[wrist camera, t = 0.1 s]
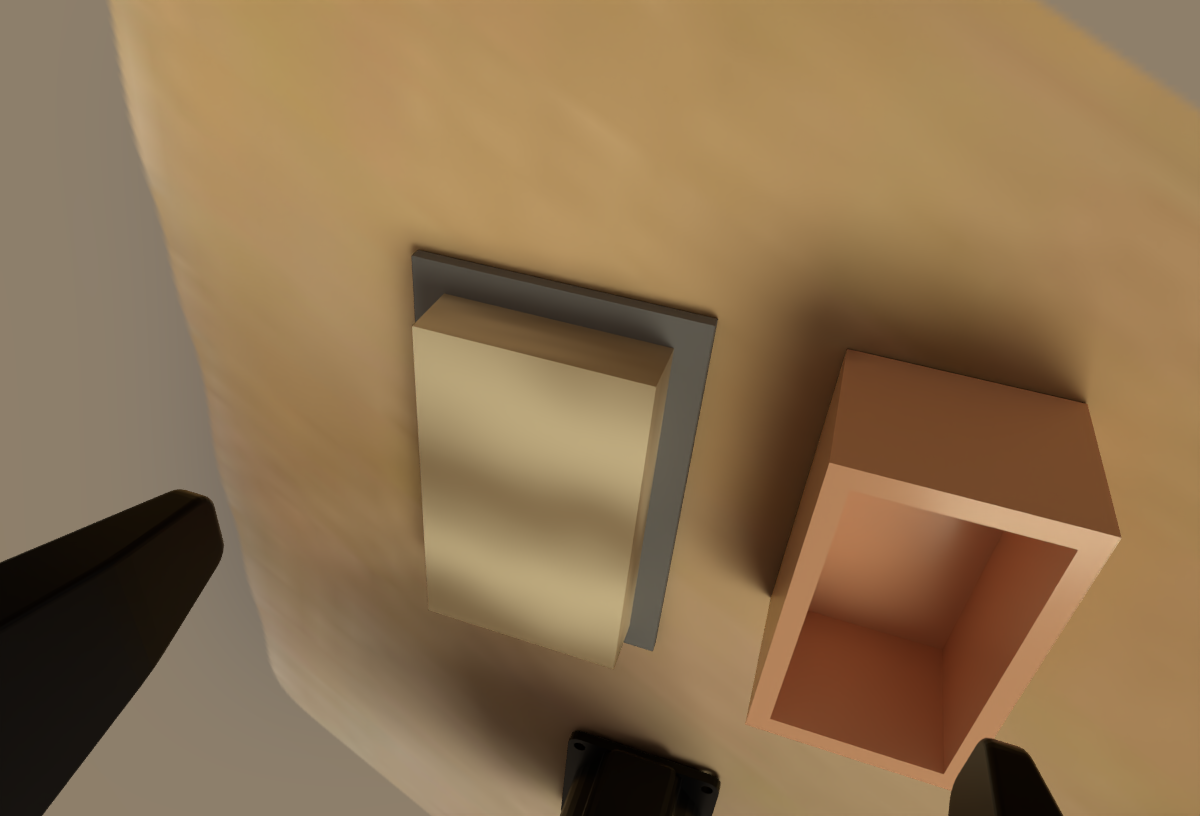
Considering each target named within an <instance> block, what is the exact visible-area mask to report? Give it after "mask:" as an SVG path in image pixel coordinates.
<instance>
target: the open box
mask: <svg viewBox="0 0 1200 816" xmlns="http://www.w3.org/2000/svg"><path fill="white" fill-rule="evenodd" d="M1120 539H1121V534H1120V530H1119V526H1118V522H1117V518H1116V514H1115V511H1114V507H1113V503H1112V499H1111V495H1110V491H1109V487H1108V483H1107V479H1106V475H1105V471H1104V468H1103V464H1102V460H1101V456H1100V452H1099V448H1098V444H1097V440H1096V436H1095V432H1094V428H1093V424H1092V421H1091V417H1090V413H1089V409H1088V405H1087V404H1085V403H1080V402H1076V401H1072V400H1067V399H1063V398H1059V397H1054V396H1050V395H1046V394H1041V393H1037V392H1033V391H1028V390H1024V389H1020V388H1015V387H1011V386H1007V385H1002V384H998V383H994V382H989V381H985V380H981V379H976V378H972V377H968V376H963V375H959V374H955V373H950V372H946V371H942V370H937V369H933V368H928V367H924V366H920V365H915V364H911V363H907V362H902V361H898V360H894V359H889V358H885V357H881V356H876V355H872V354H868V353H863V352H859V351H855V350H850V349H847V350H846V354H845V357H844V360H843V364H842V367H841V370H840V373H839V377H838V380H837V383H836V386H835V390H834V393H833V396H832V400H831V403H830V406H829V409H828V413H827V416H826V419H825V422H824V426H823V429H822V432H821V436H820V439H819V442H818V445H817V449H816V452H815V455H814V458H813V462H812V465H811V468H810V471H809V475H808V478H807V481H806V485H805V488H804V491H803V494H802V498H801V501H800V504H799V507H798V511H797V514H796V517H795V521H794V524H793V527H792V530H791V534H790V537H789V540H788V543H787V547H786V550H785V553H784V557H783V560H782V563H781V566H780V570H779V573H778V576H777V579H776V583H775V586H774V589H773V593H772V596H771V599H770V604H769V609H768V614H767V619H766V624H765V629H764V634H763V639H762V644H761V649H760V654H759V659H758V664H757V669H756V674H755V679H754V684H753V688H752V693H751V698H750V703H749V708H748V713H747V718H746V723H745V724H746V725H749V726H752V727H755V728H758V729H761V730H764V731H768V732H771V733H774V734H777V735H780V736H783V737H786V738H789V739H792V740H795V741H799V742H802V743H805V744H808V745H811V746H814V747H817V748H820V749H823V750H826V751H830V752H833V753H836V754H839V755H842V756H845V757H848V758H851V759H854V760H858V761H861V762H864V763H867V764H870V765H873V766H876V767H879V768H882V769H885V770H889V771H892V772H895V773H898V774H901V775H904V776H907V777H910V778H913V779H916V780H920V781H923V782H926V783H929V784H932V785H935V786H938V787H941V788H944V789H948V790H951V791H952V787H953V784H954V781H955V779H956V777H957V776H958V774H959V772H960V771H961V769H962V768H963V766H964V764H965V763H966V761H967V759H968V758H969V756H970V755H971V753H972V751H973V750H974V748H975V746H976V745H977V743H978V742H979V741H980V740H982V739H983V738H992V739H994V737H995V736H996V734H997V733H998V731H999V729H1000V728H1001V726H1002V725H1003V723H1004V722H1005V720H1006V718H1007V717H1008V715H1009V714H1010V712H1011V711H1012V709H1013V707H1014V706H1015V704H1016V703H1017V701H1018V700H1019V698H1020V696H1021V695H1022V693H1023V692H1024V690H1025V689H1026V687H1027V685H1028V684H1029V682H1030V681H1031V679H1032V678H1033V676H1034V674H1035V673H1036V671H1037V670H1038V668H1039V667H1040V665H1041V663H1042V662H1043V660H1044V659H1045V657H1046V656H1047V654H1048V652H1049V651H1050V649H1051V648H1052V646H1053V645H1054V643H1055V641H1056V640H1057V638H1058V637H1059V635H1060V634H1061V632H1062V630H1063V629H1064V627H1065V626H1066V624H1067V623H1068V621H1069V619H1070V618H1071V616H1072V615H1073V613H1074V612H1075V610H1076V608H1077V607H1078V605H1079V604H1080V602H1081V601H1082V599H1083V597H1084V596H1085V594H1086V593H1087V591H1088V589H1089V588H1090V586H1091V585H1092V583H1093V582H1094V580H1095V578H1096V577H1097V575H1098V574H1099V572H1100V571H1101V569H1102V567H1103V566H1104V564H1105V563H1106V561H1107V560H1108V558H1109V556H1110V555H1111V553H1112V552H1113V550H1114V549H1115V547H1116V545H1117V544H1118V542H1119V541H1120Z"/></svg>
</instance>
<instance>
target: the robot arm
mask: <svg viewBox="0 0 1200 816" xmlns="http://www.w3.org/2000/svg"><path fill="white" fill-rule="evenodd" d="M223 548H224V543H223V538H222V534H221V530H220V527H219V523H218V519H217V515H216V511H215V507H214V504H213V502H212V501H211V500H210V499H209V498H208V497H206V496H203V495H200V494H197V493H194V492H190V491H187V490H181V489H179V490H173V491H170V492H168V493H165V494H163V495H160V496H158V497H155V498H153V499H151V500H148V501H146V502H143V503H141V504H139V505H136V506H134V507H132V508H129V509H127V510H124V511H122V512H120V513H117V514H115V515H112V516H110V517H108V518H105V519H103V520H101V521H98V522H96V523H93V524H91V525H89V526H86V527H84V528H81V529H79V530H77V531H74V532H72V533H69V534H67V535H65V536H62V537H60V538H58V539H55V540H53V541H51V542H48V543H46V544H43V545H41V546H38V547H36V548H34V549H31V550H29V551H26V552H24V553H22V554H19V555H17V556H15V557H12V558H10V559H7V560H5V561H3V562H1V563H0V816H42V815H43V814H44V813H45V811H46V810H47V809H48V807H49V806H50V805H51V803H52V802H53V801H54V799H55V798H56V797H57V796H58V794H59V793H60V792H61V790H62V789H63V788H64V786H65V785H66V784H67V782H68V781H69V780H70V778H71V777H72V776H73V774H74V773H75V772H76V771H77V769H78V768H79V767H80V765H81V764H82V763H83V761H84V760H85V759H86V757H87V756H88V755H89V754H90V752H91V751H92V750H93V748H94V747H95V746H96V744H97V742H99V740H100V739H101V738H102V736H103V735H104V734H105V732H106V731H107V730H108V729H109V727H110V726H111V725H112V723H113V722H114V721H115V719H116V718H117V717H118V715H119V714H120V713H121V712H122V710H123V709H124V708H125V706H126V705H127V704H128V702H129V701H130V700H131V698H132V697H133V696H134V695H135V693H136V692H137V691H138V689H139V688H140V687H141V685H142V684H143V682H144V681H145V680H146V678H147V677H148V676H149V674H150V673H151V671H152V670H153V668H154V667H155V666H156V664H157V663H158V661H159V660H160V658H161V657H162V655H163V653H164V652H165V650H166V648H167V647H168V646H169V644H170V642H171V641H172V639H173V637H174V636H175V634H176V633H177V631H178V629H179V628H180V626H181V624H182V623H183V621H184V620H185V618H186V616H187V615H188V613H189V611H190V610H191V608H192V607H193V605H194V603H195V602H196V600H197V598H198V597H199V595H200V594H201V592H202V590H203V589H204V587H205V585H206V584H207V582H208V581H209V579H210V577H211V576H212V574H213V573H214V571H215V569H216V567H217V566H218V564H219V562H220V560H221V557H222V554H223ZM719 790H720V781H719V779H717V778H716V777H715V776H712V775H710V774H707V773H704V772H701V771H698V770H695V769H692V768H689V767H686V766H683V765H680V764H677V763H674V762H671V761H668V760H666V759H663V758H660V757H657V756H654V755H651V754H648V753H645V752H642V751H639V750H636V749H633V748H630V747H627V746H624V745H621V744H618V743H615V742H612V741H609V740H606V739H603V738H600V737H597V736H594V735H591V734H588V733H585V732H582V731H575V732H573V733H572V735H571V737H570V740H569V742H568V750H567V760H566V769H565V778H564V787H563V797H562V806H561V814H560V816H712V813H713V810H714V807H715V804H716V801H717V798H718V794H719ZM948 816H1063V814H1062V813H1061V811H1060V809H1059V807H1058V805H1057V804H1056V802H1055V800H1054V798H1053V796H1052V794H1051V793H1050V791H1049V789H1048V787H1047V785H1046V783H1045V782H1044V780H1043V778H1042V776H1041V774H1040V772H1039V771H1038V769H1037V767H1036V765H1035V763H1034V762H1033V760H1032V758H1031V756H1030V755H1029V754H1028V753H1027V752H1026V751H1025V750H1024V749H1022V748H1020V747H1018V746H1015V745H1011V744H1008V743H1005V742H1002V741H998V740H995V739H992V738H983V739H982V740H980V741H979V742H978V743H977V745H976V746H975V748H974V750H973V751H972V753H971V755H970V756H969V758H968V759H967V761H966V763H965V764H964V766H963V768H962V769H961V771H960V772H959V774H958V776H957V777H956V779H955V781H954V784H953V787H952V791H951V796H950V803H949V814H948Z"/></svg>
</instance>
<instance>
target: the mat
mask: <svg viewBox="0 0 1200 816" xmlns="http://www.w3.org/2000/svg"><path fill="white" fill-rule="evenodd" d="M412 272H413V291H414V309H415V323H416V321H417V320H418V319H419V318H420V317H421V316H422V315H423V314H424V313H425V312H426V311H427V310H428V309H429V308H430V307H431V306H432V305H433V304H434V303H435V302H436V301H437V300H438V299H439V298H440V297H441V296H442V295H443V294H448V295H453V296H457V297H461V298H465V299H469V300H473V301H478V302H482V303H486V304H490V305H494V306H499V307H503V308H507V309H511V310H515V311H519V312H524V313H528V314H532V315H536V316H540V317H544V318H549V319H553V320H557V321H561V322H565V323H569V324H574V325H578V326H582V327H586V328H590V329H595V330H599V331H603V332H607V333H611V334H615V335H620V336H624V337H628V338H632V339H636V340H640V341H645V342H649V343H653V344H657V345H661V346H665V347H670V348H674V352H673V358H672V365H671V371H670V377H669V383H668V390H667V396H666V402H665V408H664V414H663V421H662V427H661V433H660V439H659V445H658V452H657V458H656V464H655V470H654V477H653V483H652V489H651V495H650V501H649V508H648V514H647V520H646V526H645V532H644V539H643V545H642V551H641V557H640V564H639V570H638V576H637V582H636V588H635V595H634V601H633V607H632V613H631V619H630V626H629V629H628V631H627V634H626V637H625V639H624V643H627V644H631V645H634V646H637V647H640V648H643V649H647V650H650V651H653V649H654V646H655V643H656V638H657V632H658V627H659V622H660V617H661V612H662V606H663V601H664V596H665V591H666V586H667V581H668V575H669V570H670V565H671V560H672V555H673V549H674V544H675V539H676V534H677V529H678V523H679V518H680V513H681V508H682V503H683V498H684V492H685V487H686V482H687V477H688V472H689V466H690V461H691V456H692V451H693V446H694V440H695V435H696V430H697V425H698V420H699V415H700V409H701V404H702V399H703V394H704V389H705V383H706V378H707V373H708V368H709V363H710V358H711V352H712V347H713V342H714V337H715V332H716V326H717V321H718V319H716V318H711V317H707V316H703V315H698V314H694V313H690V312H685V311H681V310H677V309H672V308H668V307H664V306H659V305H655V304H651V303H646V302H642V301H638V300H633V299H629V298H625V297H620V296H616V295H611V294H607V293H603V292H598V291H594V290H590V289H585V288H581V287H577V286H572V285H568V284H564V283H559V282H555V281H551V280H546V279H542V278H538V277H533V276H529V275H525V274H520V273H516V272H512V271H507V270H503V269H499V268H494V267H490V266H486V265H481V264H477V263H473V262H468V261H464V260H459V259H455V258H451V257H446V256H442V255H438V254H433V253H429V252H425V251H420V250H417V251H416V252H415V253H414V254H413V255H412Z"/></svg>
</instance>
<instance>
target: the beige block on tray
mask: <svg viewBox="0 0 1200 816" xmlns="http://www.w3.org/2000/svg"><path fill="white" fill-rule="evenodd" d="M412 334H413V352H414V369H415V387H416V404H417V422H418V439H419V457H420V474H421V492H422V509H423V527H424V544H425V561H426V579H427V596H428V610H429V611H432V612H435V613H438V614H441V615H444V616H448V617H451V618H454V619H457V620H460V621H463V622H466V623H469V624H473V625H476V626H479V627H482V628H485V629H488V630H491V631H495V632H498V633H501V634H504V635H507V636H510V637H513V638H516V639H520V640H523V641H526V642H529V643H532V644H535V645H538V646H542V647H545V648H548V649H551V650H554V651H557V652H560V653H563V654H567V655H570V656H573V657H576V658H579V659H582V660H585V661H589V662H592V663H595V664H598V665H601V666H604V667H607V668H610V669H614V667H615V664H616V661H617V659H618V656H619V653H620V650H621V648H622V645H623V642H624V639H625V637H626V634H627V631H628V629H629V626H630V619H631V613H632V607H633V601H634V595H635V588H636V582H637V576H638V570H639V564H640V557H641V551H642V545H643V539H644V532H645V526H646V520H647V514H648V508H649V501H650V495H651V489H652V483H653V477H654V470H655V464H656V458H657V452H658V445H659V439H660V433H661V427H662V421H663V414H664V408H665V402H666V396H667V390H668V383H669V377H670V371H671V365H672V358H673V352H674V348H670V347H665V346H661V345H657V344H653V343H649V342H645V341H640V340H636V339H632V338H628V337H624V336H620V335H615V334H611V333H607V332H603V331H599V330H595V329H590V328H586V327H582V326H578V325H574V324H569V323H565V322H561V321H557V320H553V319H549V318H544V317H540V316H536V315H532V314H528V313H524V312H519V311H515V310H511V309H507V308H503V307H499V306H494V305H490V304H486V303H482V302H478V301H473V300H469V299H465V298H461V297H457V296H453V295H448V294H443V295H442V296H441V297H440V298H439V299H438V300H437V301H436V302H435V303H434V304H433V305H432V306H431V307H430V308H429V309H428V310H427V311H426V312H425V313H424V314H423V315H422V316H421V317H420V318H419V319H418V320H417V321H416V323H415V324H414V325H413V326H412Z"/></svg>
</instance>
